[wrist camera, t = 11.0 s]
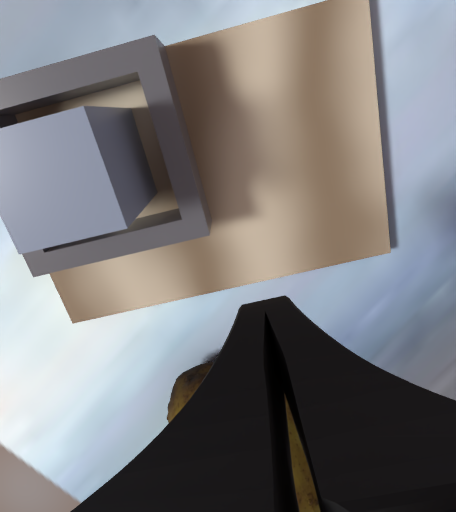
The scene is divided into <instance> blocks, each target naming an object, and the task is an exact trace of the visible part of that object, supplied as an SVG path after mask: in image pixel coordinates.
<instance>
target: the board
mask: <svg viewBox="0 0 456 512" xmlns="http://www.w3.org/2000/svg"><path fill="white" fill-rule="evenodd" d="M165 48H166V52H167V56H168V60H169V63H170V67H171V71H172V74H173V78H174V82H175V85H176V89H177V93H178V97H179V100H180V104H181V108H182V111H183V115H184V119H185V122H186V126H187V130H188V133H189V137H190V141H191V145H192V148H193V152H194V156H195V159H196V163H197V167H198V170H199V174H200V178H201V182H202V185H203V189H204V193H205V196H206V200H207V204H208V207H209V211H210V215H211V219H212V223H211V231H210V236H206V237H201V238H197V239H193V240H189V241H184V242H180V243H176V244H172V245H167V246H163V247H159V248H155V249H150V250H146V251H142V252H138V253H134V254H129V255H125V256H121V257H117V258H112V259H108V260H104V261H100V262H95V263H91V264H87V265H83V266H78V267H74V268H70V269H66V270H62V271H57V272H53V273H49V274H50V276H51V278H52V280H53V282H54V284H55V287H56V289H57V291H58V293H59V295H60V297H61V299H62V302H63V304H64V306H65V308H66V310H67V312H68V314H69V317H70V319H71V321H72V323H77V322H82V321H86V320H91V319H95V318H99V317H104V316H108V315H113V314H117V313H122V312H126V311H131V310H135V309H140V308H144V307H149V306H153V305H158V304H162V303H167V302H171V301H176V300H180V299H185V298H189V297H194V296H198V295H203V294H207V293H212V292H216V291H221V290H225V289H230V288H234V287H239V286H243V285H247V284H252V283H256V282H261V281H265V280H270V279H274V278H279V277H283V276H288V275H292V274H297V273H301V272H306V271H310V270H315V269H319V268H324V267H328V266H333V265H337V264H342V263H346V262H351V261H355V260H360V259H364V258H369V257H373V256H378V255H382V254H386V253H391V250H390V239H389V227H388V216H387V204H386V192H385V181H384V169H383V158H382V146H381V134H380V123H379V111H378V100H377V88H376V76H375V65H374V53H373V41H372V30H371V18H370V7H369V0H327V1H323V2H320V3H316V4H313V5H309V6H306V7H302V8H299V9H295V10H291V11H288V12H284V13H281V14H277V15H274V16H270V17H267V18H263V19H260V20H256V21H253V22H249V23H245V24H242V25H238V26H235V27H231V28H228V29H224V30H221V31H217V32H214V33H210V34H207V35H203V36H199V37H196V38H192V39H189V40H185V41H182V42H178V43H175V44H171V45H168V46H165ZM81 106H97V107H119V108H131V110H132V113H133V116H134V119H135V123H136V126H137V129H138V132H139V135H140V138H141V142H142V145H143V148H144V151H145V154H146V157H147V161H148V164H149V167H150V170H151V173H152V177H153V180H154V183H155V186H156V189H157V192H158V193H157V194H156V195H155V196H154V198H153V199H152V200H151V201H150V202H149V203H148V205H147V206H146V207H145V208H144V209H143V211H142V212H141V213H140V214H139V215H138V217H137V218H141V217H145V216H149V215H153V214H157V213H161V212H165V211H169V210H173V209H177V208H178V204H177V201H176V198H175V194H174V191H173V188H172V184H171V181H170V178H169V174H168V171H167V168H166V164H165V161H164V158H163V154H162V151H161V148H160V144H159V141H158V138H157V135H156V131H155V128H154V125H153V121H152V118H151V115H150V111H149V108H148V105H147V101H146V98H145V95H144V91H143V88H142V85H141V81H140V80H139V81H135V82H131V83H128V84H124V85H121V86H117V87H113V88H110V89H106V90H102V91H99V92H95V93H92V94H88V95H84V96H81V97H77V98H73V99H70V100H66V101H63V102H59V103H55V104H52V105H48V106H44V107H41V108H37V109H34V110H30V111H26V112H23V113H19V114H16V115H15V116H16V119H17V121H18V123H22V122H25V121H29V120H33V119H37V118H40V117H44V116H48V115H51V114H55V113H59V112H62V111H66V110H70V109H74V108H77V107H81Z"/></svg>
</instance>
